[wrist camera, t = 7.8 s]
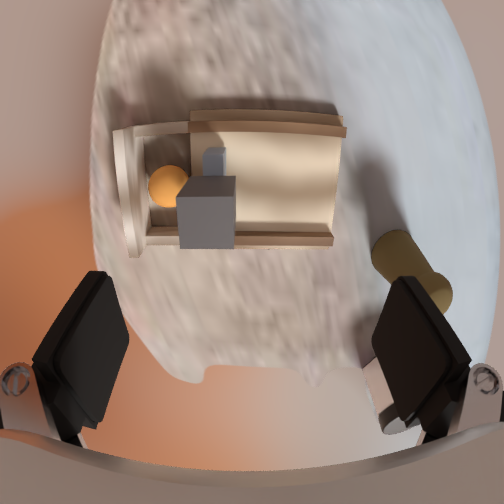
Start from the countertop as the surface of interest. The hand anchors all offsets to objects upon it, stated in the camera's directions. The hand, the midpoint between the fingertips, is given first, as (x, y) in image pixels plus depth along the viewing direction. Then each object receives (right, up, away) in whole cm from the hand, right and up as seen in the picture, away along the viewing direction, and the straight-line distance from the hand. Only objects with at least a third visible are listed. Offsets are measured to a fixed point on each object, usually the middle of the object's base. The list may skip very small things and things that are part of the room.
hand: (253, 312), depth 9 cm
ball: (-8, +8, +17) cm, 20 cm away
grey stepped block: (-3, +8, +17) cm, 19 cm away
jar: (+23, -17, +34) cm, 45 cm away
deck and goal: (-2, +9, +19) cm, 21 cm away
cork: (+17, +2, +23) cm, 29 cm away
